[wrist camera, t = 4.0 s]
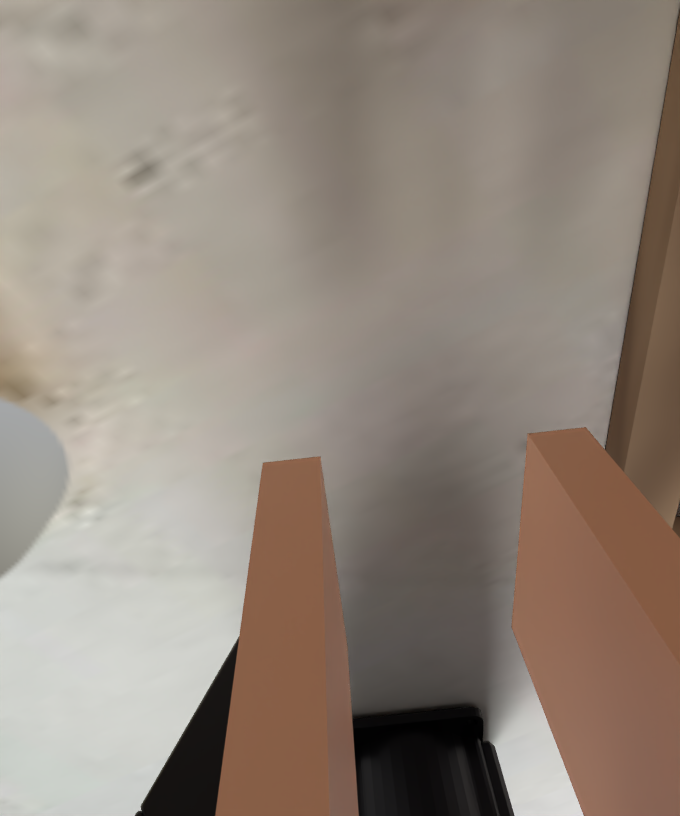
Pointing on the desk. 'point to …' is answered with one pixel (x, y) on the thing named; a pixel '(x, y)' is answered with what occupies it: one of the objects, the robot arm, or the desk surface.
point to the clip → (531, 622)
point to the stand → (655, 332)
